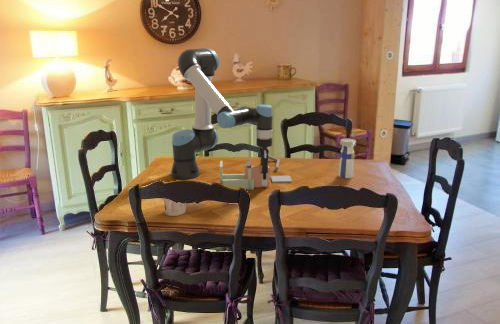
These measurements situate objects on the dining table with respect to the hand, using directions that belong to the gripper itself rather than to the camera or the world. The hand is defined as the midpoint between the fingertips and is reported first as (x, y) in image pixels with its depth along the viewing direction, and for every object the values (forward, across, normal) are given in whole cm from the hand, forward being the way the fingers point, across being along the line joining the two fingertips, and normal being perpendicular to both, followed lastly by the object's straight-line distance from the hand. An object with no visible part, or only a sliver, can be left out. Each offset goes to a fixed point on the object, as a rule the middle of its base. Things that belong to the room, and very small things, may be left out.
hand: (263, 183), depth 203 cm
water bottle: (+1, +12, -45) cm, 46 cm away
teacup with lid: (+2, -30, +40) cm, 50 cm away
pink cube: (+1, 0, +4) cm, 4 cm away
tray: (+1, +8, -10) cm, 13 cm away
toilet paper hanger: (+2, +34, -7) cm, 35 cm away
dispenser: (+1, 0, +13) cm, 13 cm away
